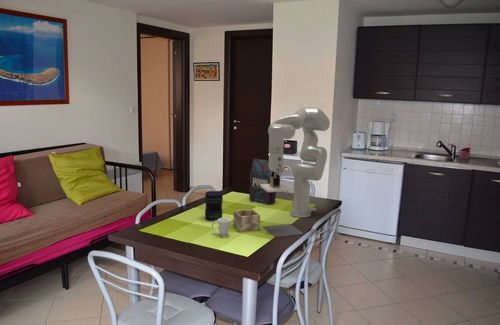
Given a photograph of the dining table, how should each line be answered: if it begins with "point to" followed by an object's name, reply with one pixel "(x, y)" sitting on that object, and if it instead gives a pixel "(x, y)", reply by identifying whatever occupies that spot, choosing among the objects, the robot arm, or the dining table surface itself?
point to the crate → (246, 220)
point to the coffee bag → (260, 182)
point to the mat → (282, 230)
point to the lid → (273, 188)
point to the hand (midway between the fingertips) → (274, 184)
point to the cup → (223, 226)
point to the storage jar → (213, 205)
